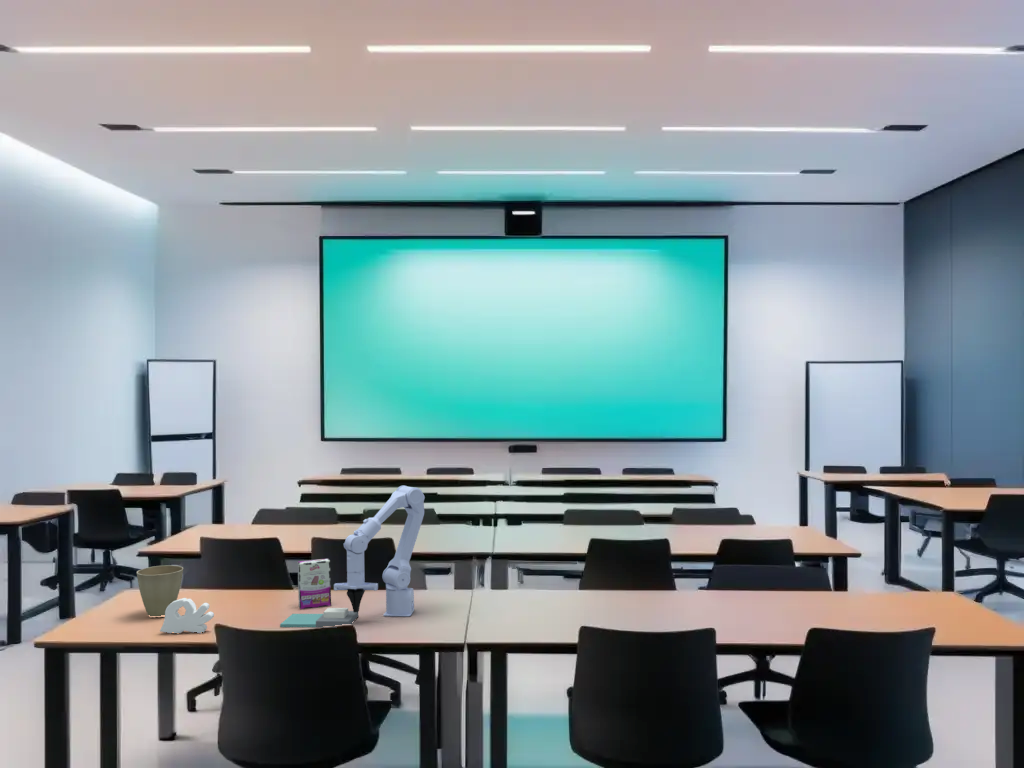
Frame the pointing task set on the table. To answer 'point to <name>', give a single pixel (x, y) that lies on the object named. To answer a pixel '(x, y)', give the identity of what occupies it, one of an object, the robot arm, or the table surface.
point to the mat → (301, 620)
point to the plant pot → (159, 587)
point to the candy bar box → (314, 583)
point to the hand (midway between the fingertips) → (356, 611)
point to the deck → (337, 620)
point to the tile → (335, 612)
